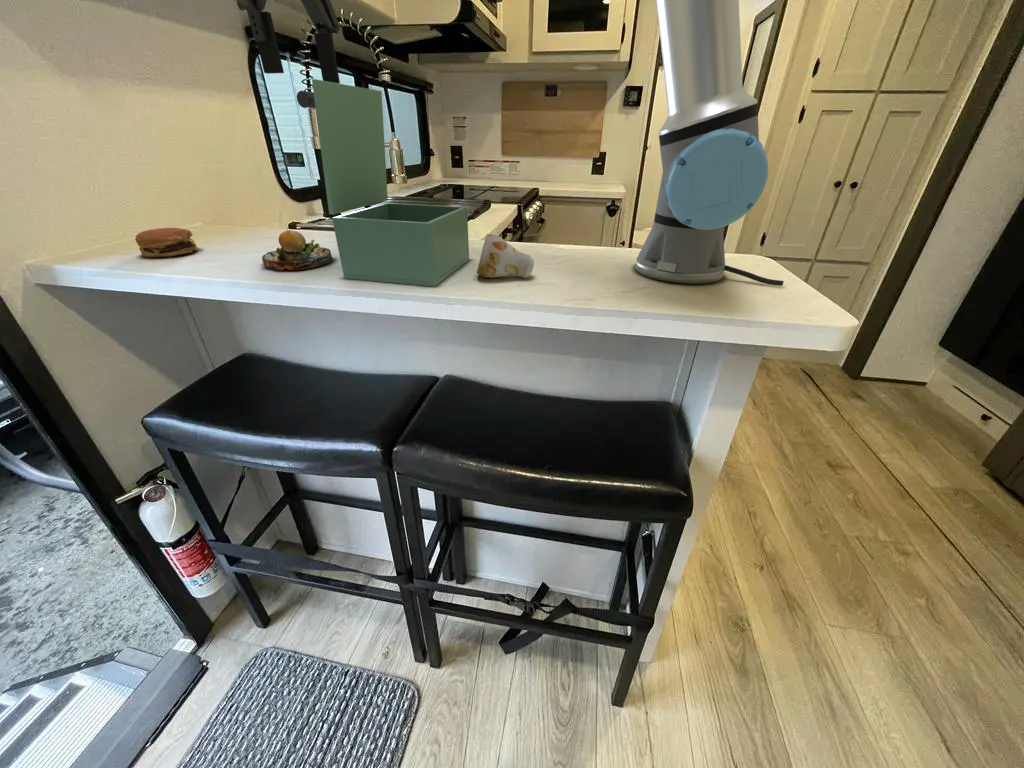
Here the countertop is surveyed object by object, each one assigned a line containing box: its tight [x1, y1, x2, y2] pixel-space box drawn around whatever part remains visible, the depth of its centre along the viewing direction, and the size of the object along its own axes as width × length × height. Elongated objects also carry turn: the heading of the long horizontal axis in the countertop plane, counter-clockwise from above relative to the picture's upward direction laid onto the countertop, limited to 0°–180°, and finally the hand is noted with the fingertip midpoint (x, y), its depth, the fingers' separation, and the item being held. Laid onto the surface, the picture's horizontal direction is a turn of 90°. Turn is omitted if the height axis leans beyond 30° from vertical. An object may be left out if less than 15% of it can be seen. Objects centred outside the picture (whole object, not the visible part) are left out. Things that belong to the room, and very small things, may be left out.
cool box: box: [331, 202, 470, 287], centre depth 74 cm, size 17×18×10 cm
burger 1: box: [134, 227, 199, 258], centre depth 82 cm, size 10×9×5 cm
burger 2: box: [261, 224, 334, 271], centre depth 77 cm, size 12×12×8 cm
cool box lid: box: [296, 78, 389, 216], centre depth 69 cm, size 17×18×8 cm
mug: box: [476, 233, 535, 279], centre depth 71 cm, size 8×10×10 cm
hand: (305, 79), depth 64 cm, fingers open, 13 cm apart
